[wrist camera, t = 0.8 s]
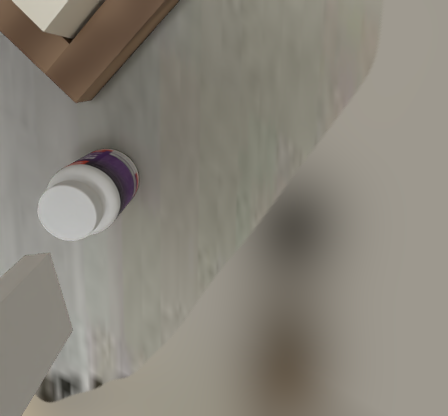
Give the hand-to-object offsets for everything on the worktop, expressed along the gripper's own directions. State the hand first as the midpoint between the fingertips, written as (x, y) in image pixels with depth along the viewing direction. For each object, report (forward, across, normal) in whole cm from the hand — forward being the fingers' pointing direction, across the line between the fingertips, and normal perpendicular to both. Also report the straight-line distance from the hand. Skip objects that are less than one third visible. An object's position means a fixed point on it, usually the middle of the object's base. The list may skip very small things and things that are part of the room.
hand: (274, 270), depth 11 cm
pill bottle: (+23, -12, -2) cm, 26 cm away
